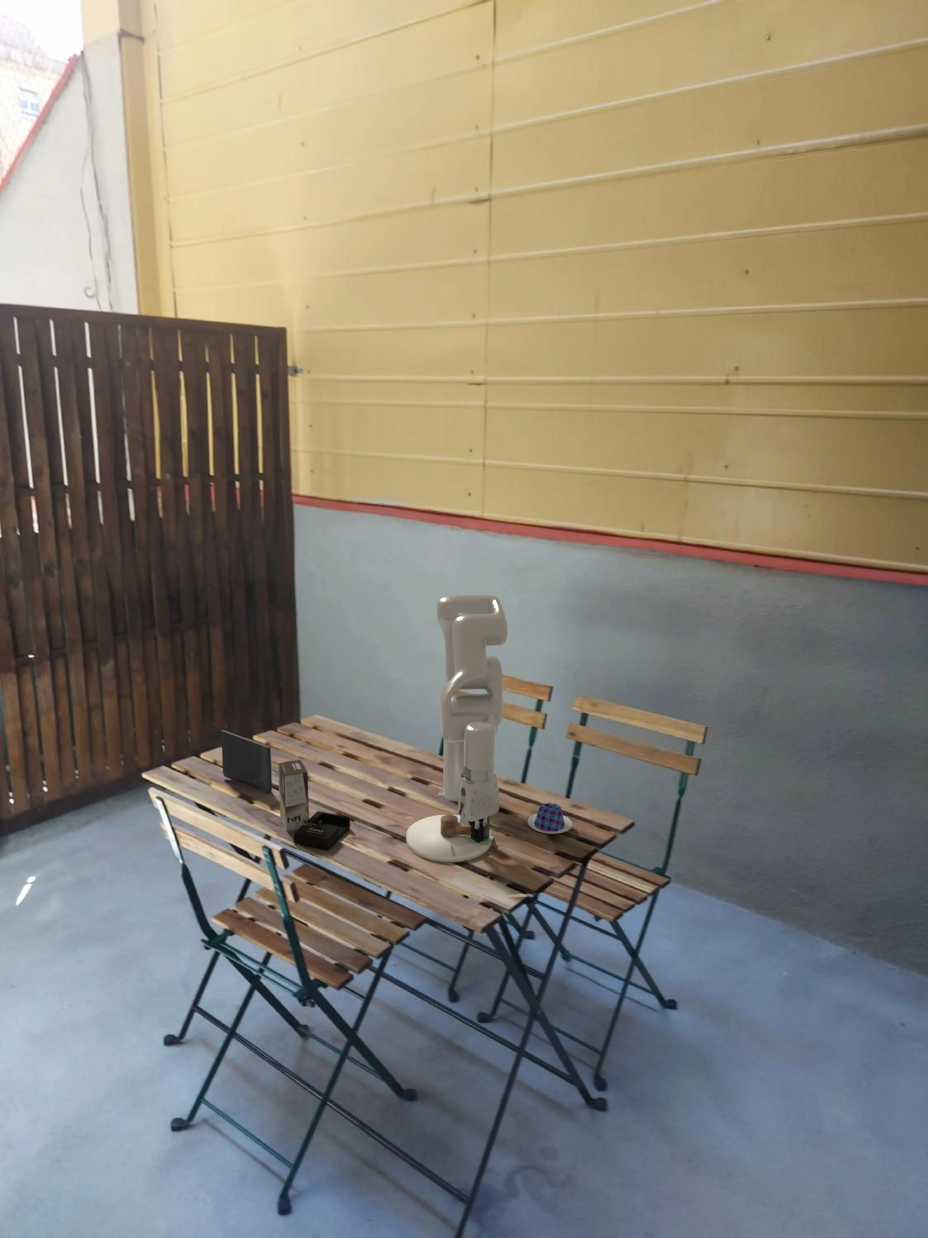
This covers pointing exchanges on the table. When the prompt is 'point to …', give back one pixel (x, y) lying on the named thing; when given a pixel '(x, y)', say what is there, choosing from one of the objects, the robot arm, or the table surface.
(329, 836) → the battery charger
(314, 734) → the table surface
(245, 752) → the dark grey flat panel
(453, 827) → the peg lever
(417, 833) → the dial plate
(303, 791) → the coffee box
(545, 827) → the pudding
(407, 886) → the table surface
